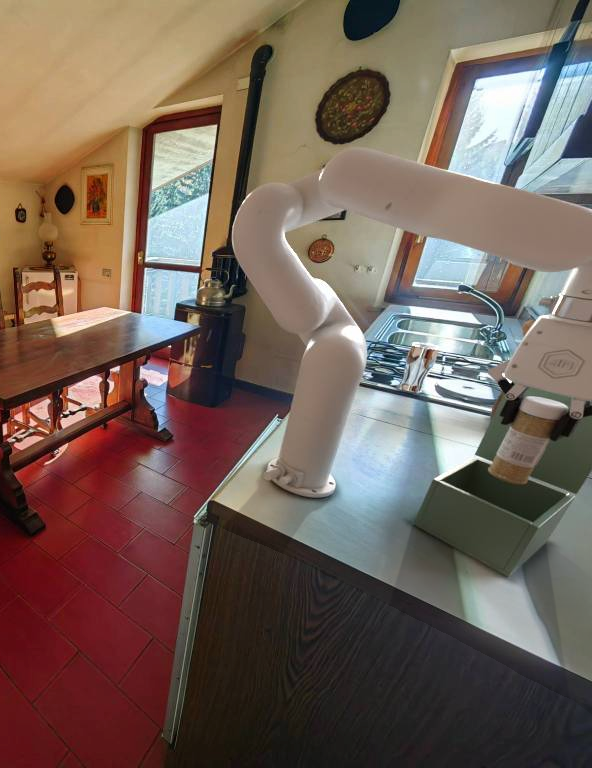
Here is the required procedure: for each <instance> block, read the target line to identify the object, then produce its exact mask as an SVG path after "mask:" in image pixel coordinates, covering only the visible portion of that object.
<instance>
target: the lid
mask: <svg viewBox="0 0 592 768" xmlns="http://www.w3.org/2000/svg"><path fill="white" fill-rule="evenodd" d="M515 384H516V383H515ZM523 396H524V397H523V398H525V397H529V396H532V397H541V398H546V399H550V400H554V401H557V402H560V403H562V404H565V405H566V406H567V407H568V411H570V407H571V399H572V398H571V397H567V396H563V395H560V394H556V393H552V392H548V391H544V390H540V389H536V388H532V387H531V388H530V389H529V390H528V391H526V392H525V393H524V394H523ZM506 401H507V399H506V398H505V394H504V395H503V397H502V399H501V401H500V403H499V405H498V407H497V409H496V411H495V413H494V416H493V418H492V420H491V422H490V421H489V424H488V425H487V428H486V430H485V432H484V434H483V437H482V438H481V441H480V443H479V444H478V447H477V448H476V451H475V452H474V456H475V457H478V458H480V459H483V460H486V461H488V462H491V463H492V462H493V460H494V458H495V456H496V454H497V451H498V449H499V447H500V445H501V444H502V442H503V440H504V438H505V436H506V434H507V432H508V430H509V428H510V426H511V425H512V423H513V422H512V423H510V424H508V425H503V424H501V421H502V419H503V417H501V416H499V415H500V413H501V411H502V409H503V407H504V405H505V403H506ZM590 405H592V401H591V404H590ZM568 411H567V412H568ZM566 414H567V413H566ZM591 473H592V415H591V416H587V417H583V418H581V420H580V421H579V423H578V425H577V426H576V428H575V430H574V432H573V433H572V435H571V436H570V437H569V438H568V437H564V436H563V437H562V438H561V439H559V440H558V441H556V442H555V441H552V440H551V439H550V441H549V442H548V444H547V446H546V449H545V451H544V453H543V454H542V456H541V458H540V460H539V461H538V463H537V465H536V466H535V467H534V469H533V470H532V472H531V474H530V476H529V478H532V479H536V480H537V481H541V482H542V483H545V484H547V485H550V486H551V485H552V486H553V487H555V488H558V489H560V490H564V491H565V492H566V491H567V492H569V493H571V494H574V495H578V494H579V492H580V491H581V489H582V488H583V486H584V484H585V483H586V481H587V480H588V478H589V476H590V475H591Z"/></svg>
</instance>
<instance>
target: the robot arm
mask: <svg viewBox="0 0 592 768" xmlns="http://www.w3.org/2000/svg"><path fill="white" fill-rule="evenodd" d="M343 211H348V212H351V213H354V214H356V215H359V216H363V217H366V218H368V219H371V220H374V221H377V222H380V223H382V224H385V225H388V226H391V227H394V228H397V229H400V230H402V231H404V232H407V233H411V234H414V235H417V236H420V237H424V238H431V239H436V240H438V239H439V240H442V241H443V240H444V241H447V242H451V243H454V244H457V245H461V246H464V247H467V248H471V249H474V250H476V251H478V252H479V251H480V252H482V253H485V254H488V255H490V256H494V257H497V258H499V259H502V260H505V261H506V262H508V263H509V264H511V265H514V266H516V267H521V268H524V269H529V270H533V271H535V272H540V273H541V272H542V273H559V272H560V273H561V272H566V271H569V274H568V275H567V278H566V280H565V281H564V284H563V286H562V288H561V290H560V292H559V294H556V296H550V297H549V296H543V297H541V298H540V299H539V300H540V301H539V302H538V307H545V308H546V309H547V310H548V314H544V315H539V316H538V317H537V318H536V320H534V323H533V325H532V326H531V328H530V329H529V330H528V332H527V333H526V335H525V336H524V338H523V337H522V339H521V341H520V343H518V346H517V347H516V349H515V351H514V353H513V354H512V355H511V358H510V359H509V358H508V359H507V360H505V361H503V362H501V363H499V364H497V365H495V366H493V367H491V368H488V369H487V371H486V372H487V374H488V375H489V376H490V377H491V378H492V379H493V381H494V382H496V383H497V385H498V387H499V388H500V390H501V392H502V391H503V392H504V394H505V398H506V399H507V401H506V403H505V405H504V407H503V409H502V411H501V413H500V415H499V416H501V417H503V419H502V421H501V424H503V425H508V424H510V423H512V422H513V421H514V419H515V417H516V415H517V413H518V410H519V406H520V404H521V402H522V400H523V397H524V396H523V394H524V393H525V392H526V391H528V390H529V389H530V388H531V387H532V388H536V389H540V390H544V391H548V392H552V393H556V394H560V395H563V396H567V397H571V398H572V399H571V407H570V411H568V412H567V414H565V415H563V416H562V417H561V418H560V420H559V422H558V424H557V426H556V427H555V429H554V431H553V433H552V434H551V436H550V438H549V439H551V440H552V441H555V442H556V441H558V440H559V439H561V438H562V437H563V436H564V437H568V438H569V437H570V436H571V435H572V433H573V432H574V430H575V428H576V426H577V425H578V423H579V421H580V420H581V418H583V417H587V416H591V415H592V405H590V404H591V401H592V208H590V207H586V206H583V205H580V204H576V203H573V202H569V201H565V200H562V199H559V198H555V197H551V196H547V195H544V194H540V193H537V192H534V191H533V192H532V191H530V190H525V189H521V188H517V187H514V186H509V185H504V184H501V183H497V182H491V181H488V180H485V179H481V178H479V177H478V178H477V177H476V176H475V177H474V176H471V175H467V174H463V173H459V172H455V171H451V170H448V169H443V168H439V167H436V166H433V165H428V164H425V163H421V162H418V161H415V160H411V159H407V158H405V157H401V156H398V155H394V154H390V153H388V152H387V153H386V152H384V151H379V150H377V149H373V148H368V147H364V146H363V147H362V146H352V147H348V148H345V149H343V150H341V151H339V152H337V153H336V154H335V155H333V156H332V158H330V159H329V160H328V161H327V163H326V164H325V166H324V167H323V168H321V169H319V170H316V171H314V172H311V173H310V174H308V175H306V176H303V177H301V178H298V179H295V180H294V181H291V182H289V183H287V184H286V183H283V182H278V181H276V182H273V181H272V182H268V183H264V184H261V185H259V186H258V187H256V188H254V189H253V190H252V191H251V192H250V193H249V194H248V195H247V196H246V197H245V199H243V202H242V204H240V207H239V208H238V210H237V213H236V215H235V218H234V221H233V225H232V230H231V242H232V243H231V244H232V249H233V253H234V256H235V259H236V261H237V263H238V264H239V266H240V268H241V270H242V271H243V273H244V274H245V275H246V277H247V278H248V280H249V281H250V283H251V284H252V286H253V287H254V289H255V291H256V293H257V294H258V295H259V297H260V298H261V300H262V302H263V303H264V305H265V306H266V307H267V309H268V310H269V312H270V313H271V315H272V317H273V318H274V320H275V321H276V323H277V324H278V326H279V327H280V328H281V329H282V330H284V331H286V332H287V333H290V334H293V335H294V334H295V335H297V336H298V338H299V339H300V340H301V341H302V343H303V345H304V346H305V350H304V352H303V356H302V358H301V361H300V366H299V371H298V376H297V380H296V384H295V388H294V393H293V397H292V400H291V404H290V410H289V414H288V418H287V421H286V426H285V430H284V434H283V437H282V442H281V445H280V448H279V449H280V450H279V454H278V457H277V458H274V459H271V460H270V461H269V462H268V464H267V467H266V470H265V471H263V473H262V476H263V479H264V480H265V481H269V482H270V481H272V482H273V483H275V484H276V485H277V486H279V487H280V488H282V489H283V490H285V491H286V492H287V491H288V492H290V493H292V494H295V495H298V496H302V497H307V498H315V499H318V498H325V497H329V496H332V494H333V493H334V492H335V489H336V487H337V486H336V485H337V484H336V481H335V478H334V477H333V476H332V474H331V473H332V472H331V471H332V469H333V465H334V463H335V459H336V456H337V453H338V451H339V447H340V444H341V440H342V437H343V434H344V432H345V428H346V425H347V422H348V418H349V415H350V411H351V409H352V406H353V402H354V400H355V398H356V394H357V393H358V392H357V391H358V389H359V387H360V384H361V382H362V380H363V377H364V374H365V372H366V371H365V370H366V367H367V361H368V359H367V358H368V350H367V349H368V348H367V340H366V337H365V335H364V333H363V331H362V329H361V328H360V326H358V323H356V321H355V320H354V318H353V317H352V316H351V314H350V313H349V311H348V310H347V309H346V307H345V306H344V304H343V302H342V301H341V300H340V298H339V297H338V296H337V294H336V292H335V291H334V290H333V289H332V288H331V286H330V285H329V284H328V283H326V282H325V281H323V280H322V279H320V278H317V277H312V276H311V274H310V273H309V272H308V270H307V269H306V268H305V265H303V263H302V262H301V260H300V259H299V257H298V255H297V254H296V252H295V251H294V250H293V249H292V248H291V246H290V245H289V243H288V241H287V239H286V235H285V233H288V232H291V231H293V230H296V229H298V228H301V227H304V226H307V225H310V224H313V223H315V222H318V221H321V220H323V219H325V218H329V217H331V216H334V215H336V214H339V213H341V212H343ZM515 383H516V384H515Z"/></svg>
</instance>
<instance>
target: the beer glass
mask: <svg viewBox="0 0 592 768" xmlns="http://www.w3.org/2000/svg"><path fill="white" fill-rule="evenodd" d="M439 351H440V347H439V346H438V345H434V344H431V343H425V342H424V343H423V342H412V343H411V346H410V348H409V350H408V353H407V355H406V359H405V362H404V369H403V376H402V378H401V381H400V382H399V384H398V385H397V389H398V390H400V391H402V392H405V393H409V394H416V395H417V394H421V393H422V392H423V386H424V385H423V384H424V381H425V380H426V378H427V377H428V375H429V374H430V372H431V370H432V369H433V368H434V365H435V363H436V360H437V358H438V354H439Z"/></svg>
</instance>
